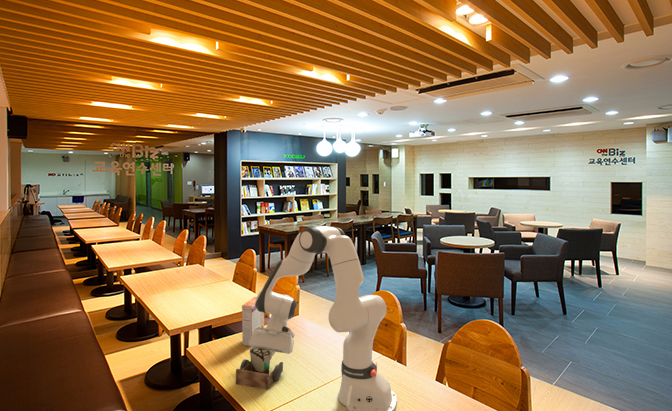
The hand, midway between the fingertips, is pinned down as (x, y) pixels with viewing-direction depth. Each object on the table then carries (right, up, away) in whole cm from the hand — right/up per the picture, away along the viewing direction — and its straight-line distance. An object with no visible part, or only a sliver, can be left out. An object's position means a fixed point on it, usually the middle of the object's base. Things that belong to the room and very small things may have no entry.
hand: (265, 360), depth 156 cm
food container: (-1, -5, -1) cm, 5 cm away
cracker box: (-12, -3, +30) cm, 33 cm away
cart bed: (-1, -5, -4) cm, 7 cm away
